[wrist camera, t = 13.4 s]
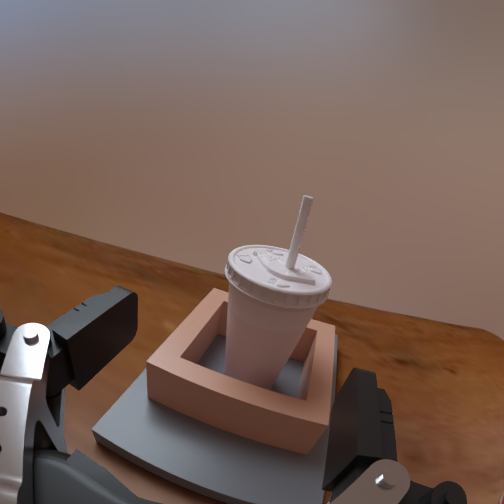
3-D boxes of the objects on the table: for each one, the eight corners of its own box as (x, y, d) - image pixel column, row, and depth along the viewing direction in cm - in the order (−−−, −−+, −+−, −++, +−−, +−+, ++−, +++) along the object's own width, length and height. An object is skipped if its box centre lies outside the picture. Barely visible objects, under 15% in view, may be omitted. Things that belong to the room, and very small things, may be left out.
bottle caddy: (95, 440, 13) (80, 394, 12) (209, 306, 32) (216, 265, 30) (310, 523, 11) (348, 496, 9) (332, 345, 29) (349, 306, 28)
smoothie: (250, 426, 16) (321, 215, 11) (188, 370, 20) (217, 176, 15) (304, 384, 21) (371, 211, 16) (247, 342, 25) (287, 181, 20)
